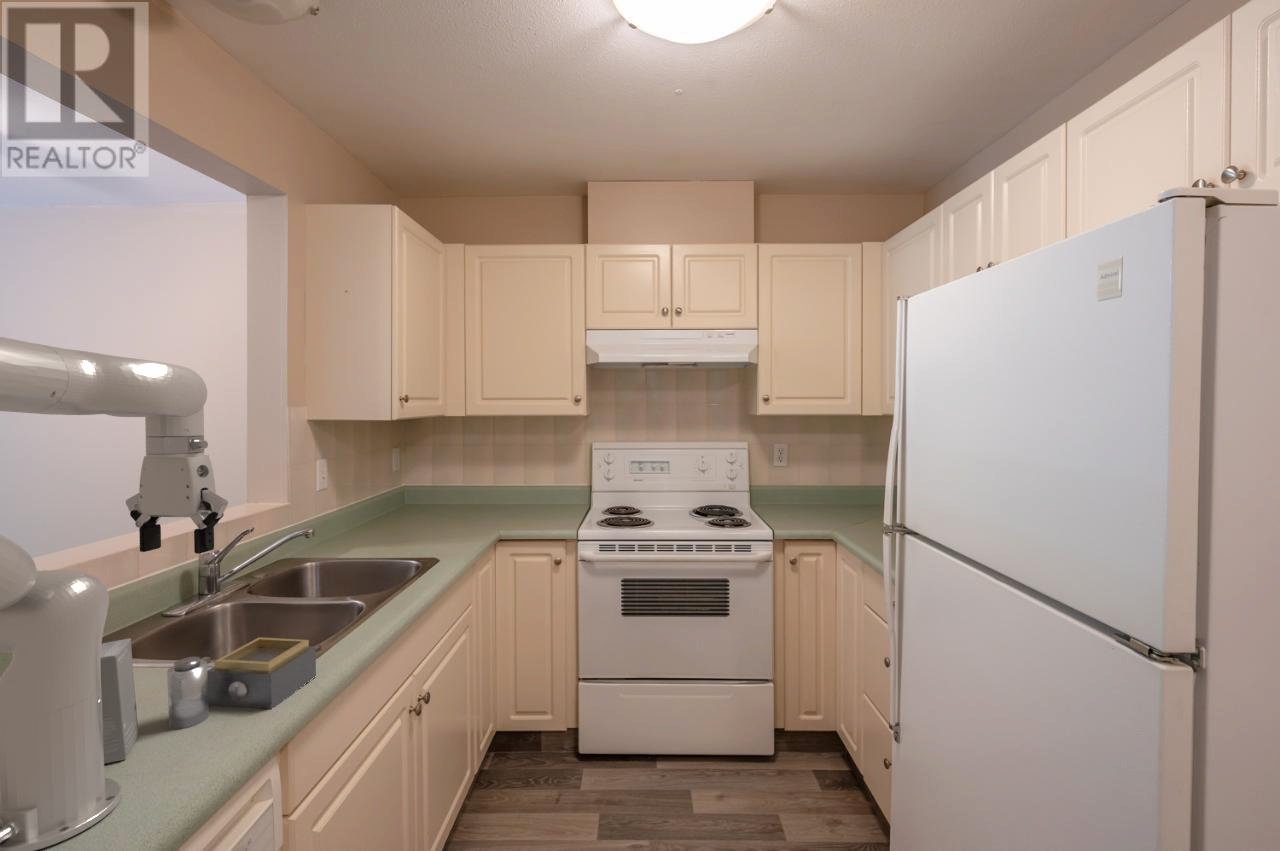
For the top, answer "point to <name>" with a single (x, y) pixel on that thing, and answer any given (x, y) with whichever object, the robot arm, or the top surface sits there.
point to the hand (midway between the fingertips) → (177, 550)
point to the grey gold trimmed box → (261, 673)
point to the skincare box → (118, 700)
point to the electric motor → (188, 692)
